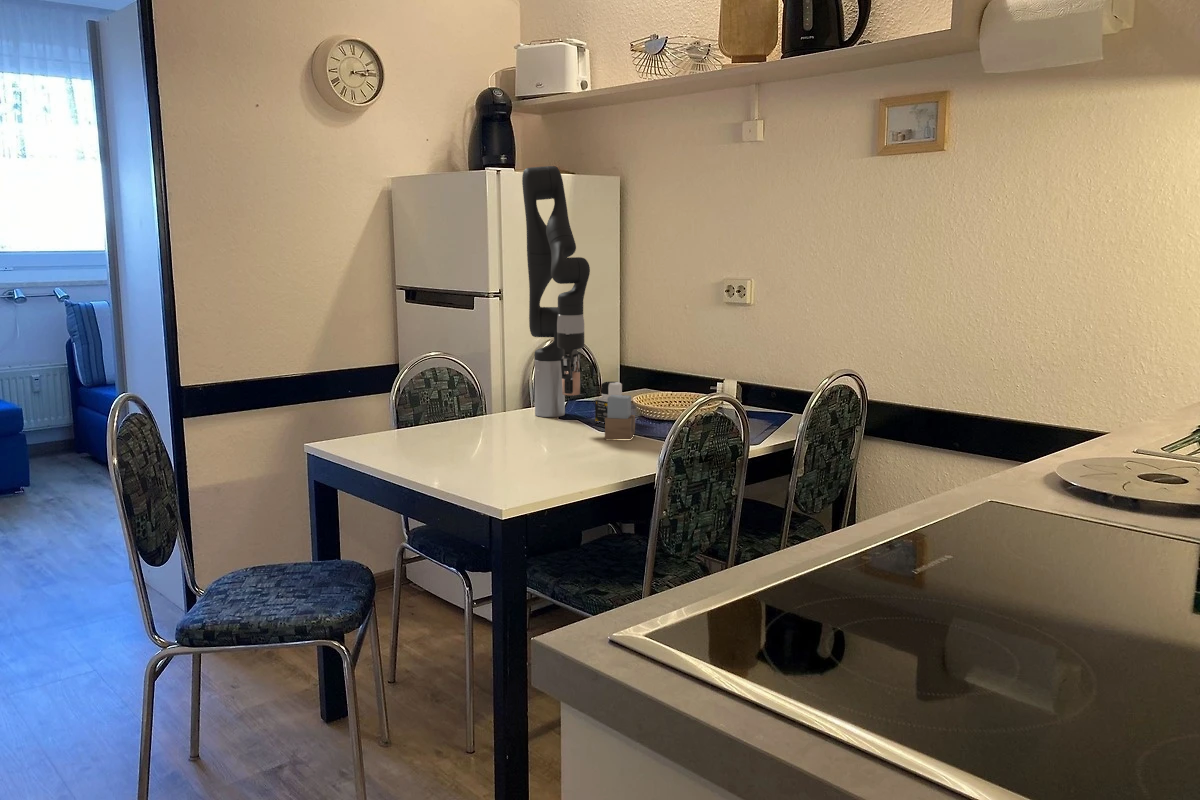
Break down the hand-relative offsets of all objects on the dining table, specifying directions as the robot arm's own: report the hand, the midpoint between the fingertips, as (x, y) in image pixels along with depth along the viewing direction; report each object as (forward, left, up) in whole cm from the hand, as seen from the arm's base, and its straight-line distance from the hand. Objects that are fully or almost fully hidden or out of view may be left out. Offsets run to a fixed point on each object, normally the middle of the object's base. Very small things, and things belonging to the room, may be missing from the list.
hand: (571, 391), depth 263 cm
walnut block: (+4, +15, -12) cm, 19 cm away
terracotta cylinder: (0, 0, -1) cm, 1 cm away
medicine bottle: (-18, +8, -12) cm, 23 cm away
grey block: (+4, +15, -6) cm, 16 cm away
